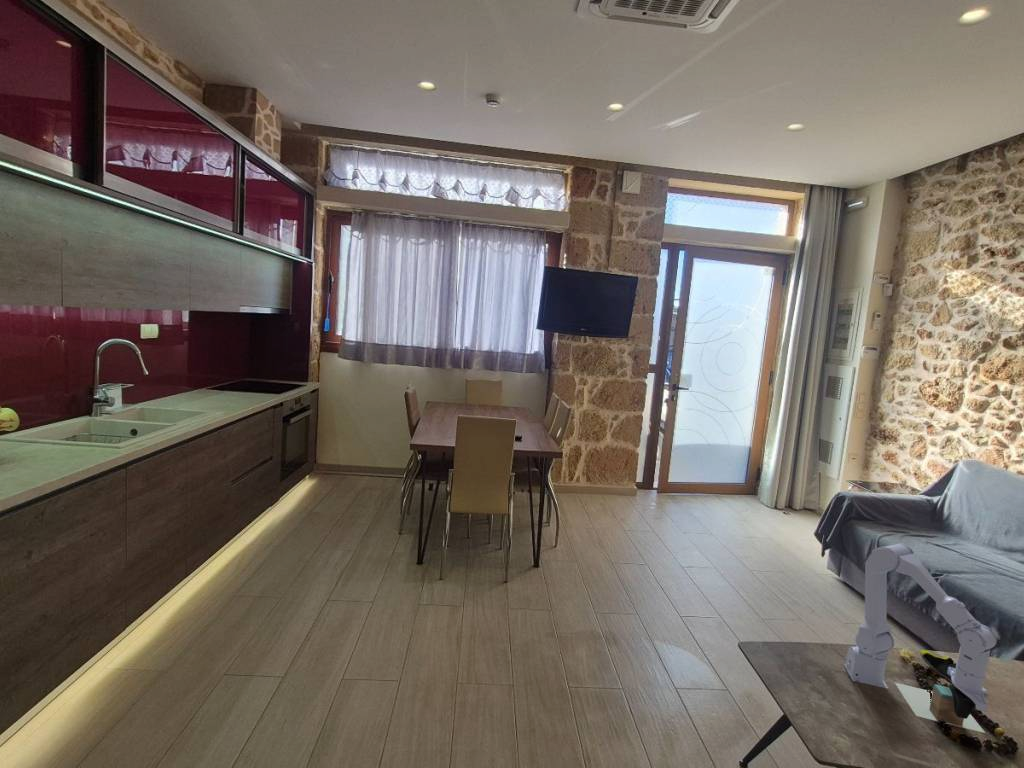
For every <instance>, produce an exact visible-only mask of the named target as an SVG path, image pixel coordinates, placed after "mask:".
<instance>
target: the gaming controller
mask: <svg viewBox="0 0 1024 768" xmlns="http://www.w3.org/2000/svg"><path fill="white" fill-rule="evenodd" d="M919 654H920V657H921V658H922V660H923V661H924V662H925V663H926V664H927V665H928V666H929V667H931V668H932V669H933V671H935V672H937V674H938V675H940V676H941V677H944V678H945V679H947V680H948V681H949V682H950V683H952V680H951V676H950V675H949V674H948V673H947V671H948V667H952V668H956V664H957V662H956V663H955V662H954V661H955V659H954V658H952V657H947V656H945V657H940V656H937V655H936V654H934V653H932V652H931V651H928V650H921V651H920V653H919Z"/></svg>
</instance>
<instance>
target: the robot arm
mask: <svg viewBox="0 0 1024 768" xmlns="http://www.w3.org/2000/svg"><path fill="white" fill-rule="evenodd" d="M864 564H865V565H864V570H865V571H864V573H865V574H864V620H863V621H862V622H861V624H860V625H859V626H858V633H857V634H856V636H855V644H856V646H852V645H851V646H849V647H848V649H847V653H846V659H845V663H844V667H845V670H846V671H847V674H848V675H849V677H850V679H851V680H852V682H853V683H855V682H858V683H862V684H866V685H871V686H874V687H879V688H882V689H883V688H884V689H889V686H888V685H887V684H886V682H885V681H884V677H885V671H886V665H887V662H888V661H887V660H888V656H889V655H888V654H889V650H890V651H891V650H892V649H893V648H894V647H895V639H894V636H893V634H892V628H891V626H890V625H889V624H888V623H887V608H888V607H887V601H888V599H887V598H888V596H887V595H888V594H887V593H888V592H887V591H888V589H887V588H888V586H887V585H888V584H887V583H888V582H887V581H888V579H887V578H888V575H887V574H888V572H891V571H892V570H894V569H896V570H895V572H896V573H898V574H902V575H906V576H908V577H909V576H910V577H911V578H912V579H913V580H914V581H915V582H916V583H917V584H918V585H919V586H920V587H921V588H922V590H924V591H925V592H926V593H927V594H928V595H929V597H930V598H932V600H933V601H935V608H936V610H937V611H938V613H940V615H941V616H942V617H943V619H945V621H946V622H947V623H948V624H949V625H950V626H951V628H952V629H953V630H954V631H955V633H957V634H956V635H957V640H958V642H959V644H960V647H959V650H958V655H957V660H956V668H952V667H948V671H947V673H948V674H949V675H950V676H951V680H952V682H951V683H952V684H949V686H948V687H949V688H950V690H951V692H952V696H953V701H954V710H955V714H956V715H957V717H960V718H964V719H967V717H968V716H969V715H970V714H971V713H972V712H973V711H974V709H976V710H977V711H980V712H985V713H987V712H988V709H989V704H988V703H987V701H986V699H985V694H986V695H987V693H988V690H987V689H986V688H985V687H984V681H985V677H986V673H987V668H988V664H989V657H990V655H991V654H990V653H991V650H990V649H992V648H994V647H995V646H996V645H997V641H998V640H997V636H996V635H995V633H994V632H993V630H992V629H991V628H990V627H989V626H987V625H984V624H982V623H981V622H980V621H979V620H977V619H976V618H975V617H974V616H973V615H972V614H971V613H970V612H969V610H967V608H966V604H964V603H963V602H962V601H960V600H958V599H957V598H956V597H953V596H949V595H948V594H947V593H946V592H945V590H944V589H943V588H942V587H941V584H939V583H938V582H937V581H936V579H935V578H934V577H933V575H932V574H931V573H930V572H929V571H928V570H927V568H926V567H925V565H924V564H923V563H922V560H921V558H920V556H919V555H918V554H917V553H915V552H914V550H913V549H912V548H911V547H910V545H908V544H905V543H900V542H899V543H895V544H891V545H886V546H879V547H877V548H873V549H872V550H871V554H870V556H868V558H867V560H866V561H865V563H864Z"/></svg>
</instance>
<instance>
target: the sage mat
mask: <svg viewBox="0 0 1024 768" xmlns="http://www.w3.org/2000/svg"><path fill="white" fill-rule="evenodd" d="M894 685H896V687H897V689H898V690H899V692H900V693H901V695H902V697H903V698H904V700H905V701H906V703H907V704H908V706H909V708H910V709H911V710H912V712H913V713H914V715H915V716H916V717H918V718H923V719H926V720H930V721H934V722H938V723H939V721H938V720H936V718H935V717H934V715H933V714H932V713H931V711H930V710H929V709H930V704H931V703H930V702H931V701H930V700H931V699H930V693H929V692H927V690H928V689H924V688H919V687H914V686H911V685H906V684H902V683H898V682H894ZM930 691H931V693H932V694H933V690H930ZM945 724H947V725H951V726H955V727H959V728H963V729H967V730H970V731H974V732H979V733H983V734H986V732H985V730H984V729H983V728H982V726H980V724H979V723H978V722H977V720H976V719H975V718H974V716H972V714H971V713H970V715H969V716H968V717H967V719H964V721H963V726H960V725H955V724H951V723H947V722H946V723H945Z"/></svg>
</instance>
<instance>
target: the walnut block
mask: <svg viewBox="0 0 1024 768" xmlns="http://www.w3.org/2000/svg"><path fill="white" fill-rule="evenodd" d="M933 684H934V683H933ZM932 692H933V694H932V699H931V704H930V709H929V710H930V711H931V713H932V714H933V715H934V717H935V718H936V720H942V719H943V720H944V721H945V722H947V723H951V724H955V725H960V726H963V721H964V718H960V717H957V715H956V714H955V710H954V701H953V696H952V692H951V690H950V687H949V686H944V685H940V684H934V686H933V689H932Z"/></svg>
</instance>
